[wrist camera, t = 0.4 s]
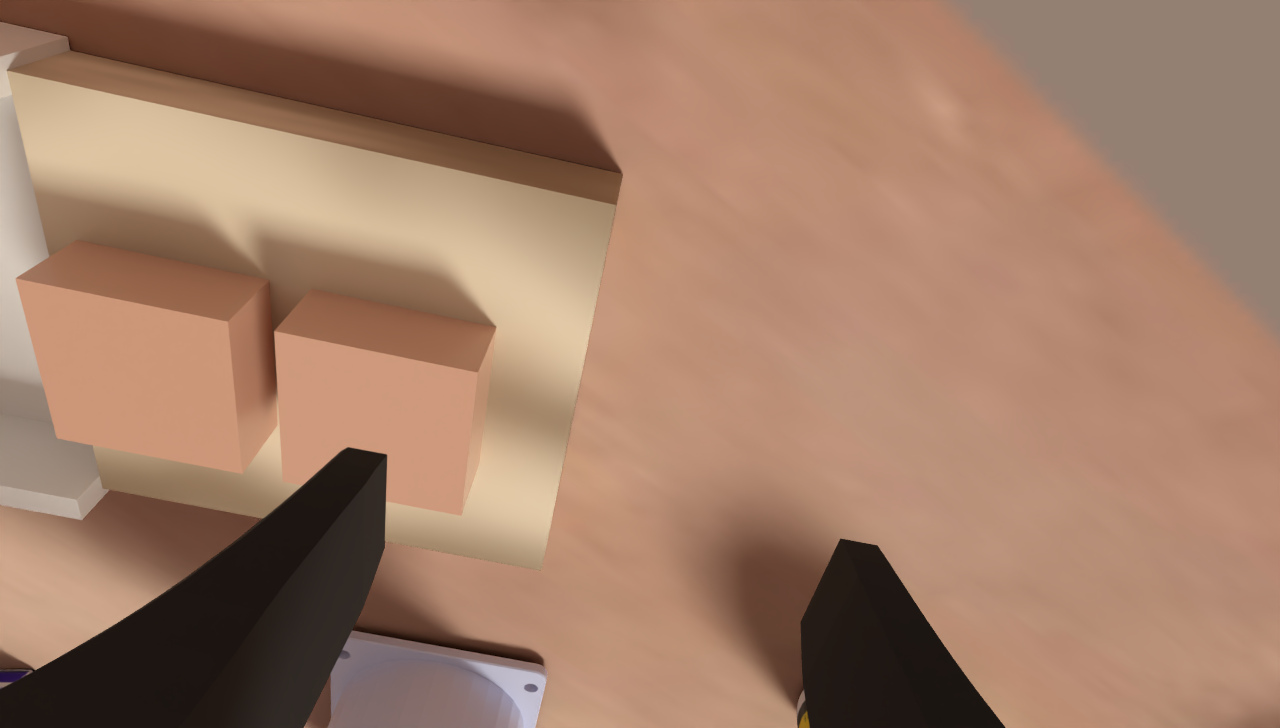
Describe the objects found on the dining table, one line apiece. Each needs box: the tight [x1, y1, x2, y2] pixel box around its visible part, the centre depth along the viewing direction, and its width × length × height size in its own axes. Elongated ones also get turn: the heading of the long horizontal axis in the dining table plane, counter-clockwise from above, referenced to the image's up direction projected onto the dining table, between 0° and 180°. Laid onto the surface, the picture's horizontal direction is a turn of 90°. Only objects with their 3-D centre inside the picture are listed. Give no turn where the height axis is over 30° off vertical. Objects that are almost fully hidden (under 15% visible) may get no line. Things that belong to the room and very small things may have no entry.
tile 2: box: [15, 240, 278, 474], centre depth 19 cm, size 4×4×2 cm
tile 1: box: [274, 289, 497, 516], centre depth 19 cm, size 4×4×2 cm
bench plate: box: [7, 50, 623, 571], centre depth 21 cm, size 12×13×2 cm
